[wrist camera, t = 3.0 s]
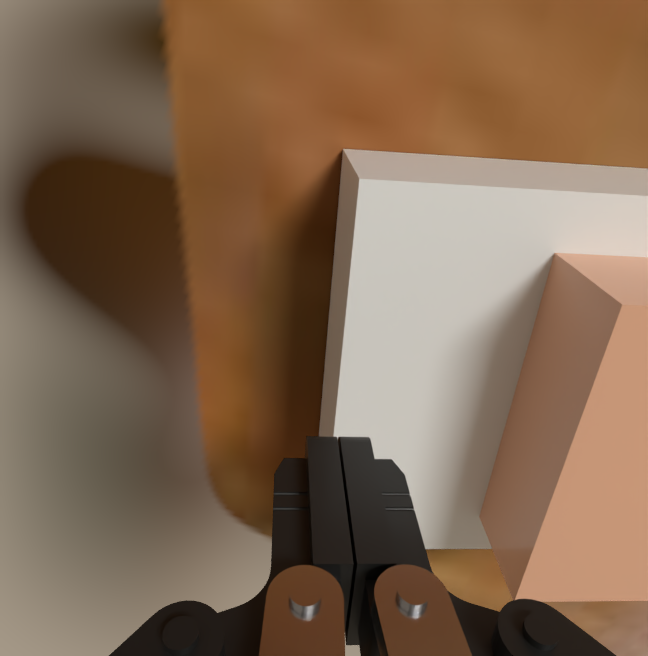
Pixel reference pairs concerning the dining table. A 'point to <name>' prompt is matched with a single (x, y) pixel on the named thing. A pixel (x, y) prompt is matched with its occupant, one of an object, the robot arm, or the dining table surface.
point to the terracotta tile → (578, 441)
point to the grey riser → (453, 307)
